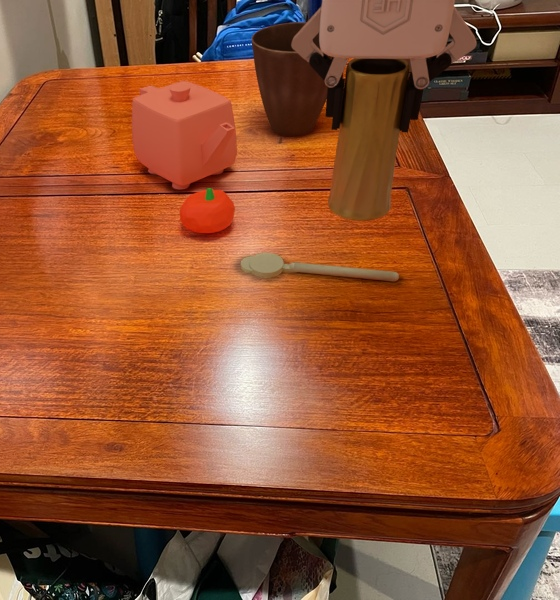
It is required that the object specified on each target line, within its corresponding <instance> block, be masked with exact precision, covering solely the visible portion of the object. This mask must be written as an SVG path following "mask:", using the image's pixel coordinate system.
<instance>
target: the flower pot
mask: <svg viewBox="0 0 560 600" xmlns="http://www.w3.org/2000/svg"><path fill="white" fill-rule="evenodd" d="M307 22H308V21H307ZM307 22H306V21H298V22H296V21H295V22H285V23H278V24H273V25H270V26H266V27H263V28H260V29H258V30H257V31H256V32H254V33H253V34H252V36H251V47H252V54H253V63H254V69H255V76H256V82H257V86H258V90H259V95H260V99H261V102H262V103H261V104H262V106H263V109H264V112H265V115H266V118H267V121H268V124H269V127H270V130H271V131H272V132H273V133H274V134H276V135H278V136H282V137H288V138H289V137H290V138H294V137H295V138H296V137H302V136H306V135H308V134H310V133H311V132H313V130H314V129H315V126H316V124H317V122H318V120H319V118H320V116H321V114H322V112H323V109H324V106H325V105H326V101H327V90H328V87H327V86H326V85H325V81H324V80H323V79H322V78H321V77H320V76H319V75H318V74H317V72H316V71H315V70H314V69H313V68H312V67H311V66H310V64H309V63H308V62H307V61H306V60H304V59H303V58H302V57H301V56H300V55H299V54H298V53H297V52H296V51H295V50H294V49H293V48H292V46H291V44H292V40H293V38H294V36H295V35H296V34H297V33H298V32H299V31H300V30H301V29H302V27H303V26H304V25H305V24H306V23H307ZM313 43H314V44H315V45H316V46H317V47H318V48H319V49H320V43H319V33H318V34H317V35H316V36H315V37H314V38H313ZM327 56H328V55H327ZM328 57H329V58H330V59H331V58H332V57H331V56H328Z"/></svg>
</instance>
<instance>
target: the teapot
mask: <svg viewBox="0 0 560 600" xmlns="http://www.w3.org/2000/svg"><path fill="white" fill-rule="evenodd" d="M138 92H139V95H137V96H135V97H133V98H132V103H131V104H132V107H131V110H132V111H131V138H132V139H131V140H132V148H133V151H134V156H135V157H136V159H137V161H138V162H139V163H141V164H142V165H143V166H145V168H147V169H148V170H147V172H148V173H149V174H151V175H158V176H159V177H161V178H163V179H165V180H167V181H168V182H171V184H172V185H171V187H172V188H173V189H174V190H185V189H188V188H189V187H190V186H191V184H192V183H195V182H197V181H199V180H202V179H204V178H206V177H210V176H211V175H213V176H217V175H220V174H222V173H224V169H225V170H226V169H227V168H229V167H231V166H233V165H234V164H235V163H236V159H237V155H238V142H237V130H236V121H235V116H234V110H233V105H232V101H231V99H229V98H227V97H226V96H224V95H222V94H221V93H218V92H217V91H214V90H211V89H209V88H207V87H205V86H202V85H199V84H196V83H195V82H190V81H187V80H180V81H177V82H174V83H171V84H167V85H165V86H161V87H160V88H159V87H157V86H154V85H151V84H150V85H146V86H143V87H141V88H139V91H138Z"/></svg>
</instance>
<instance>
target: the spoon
mask: <svg viewBox="0 0 560 600" xmlns="http://www.w3.org/2000/svg"><path fill="white" fill-rule="evenodd" d="M240 269H241V270H242V271H243V272H245V273H247V274H252V275H253V276H256V277H258V278H264V279H269V278H275V277H277V276H279V275H281V274H282V273H284V272H286V273H294V274H297V273H304V274H315V275H325V276H332V277H333V276H334V277H345V278H354V279H365V280H373V281H374V280H375V281H386V282H397V281H398V280H399V278H400V273H398V272H397V271H390V270H381V269H372V268H371V269H370V268H359V267H351V266H350V267H349V266H341V265H340V266H339V265H329V264H318V263H309V262H308V263H307V262H297V261H292V262H290V263H285V262H284V259H283V258H282V257H281V256H280V255H278V254H276V253H273V252H260V253H256V254H254V255H249V256H245V257H244V258H242V259H241V261H240Z"/></svg>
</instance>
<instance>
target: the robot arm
mask: <svg viewBox="0 0 560 600" xmlns="http://www.w3.org/2000/svg"><path fill="white" fill-rule="evenodd" d="M455 3H456V0H321V6H320V7H319V8H318V9H317V11H315V13H314V14H313V15H312V16H311V17H310V19H308V20H307V23H306V24H305V25H304V26H303V27H302V29H301V30H300V31H299V32H298V33H297V34H296V35H295V36H294V38H293V40H292V44H291V46H292V48H293V49H294V50H295V51H296V52H297V53H298V54H299V55H300V56H301V57H302V58H303V59H304V60H306V61H307V62H308V63H309V64H310V66H311V67H312V68H313V69H314V70H315V71H316V72H317V74H318V75H319V76H320V77H321V78H322V79H323V80H324V81H325V85H326V86H327V87H328V90H327V99H326V102H325V113H324V116H325V118H332V120H331V131H337V130H339V128H340V120H341V111H342V102H343V94H344V85H345V78H344V71H345V70H346V67H347V64H348V62H349V61H350V60H349V59H354V58H356V59H404V60H409V65H410V70H411V72H409V76H408V81H407V86H406V92H405V98H404V104H403V110H402V116H401V123H400V132H401V133H405V134H406V133H409V129H410V123H411V121H418V120H419V116H420V110H421V105H422V99H423V94H424V89H426V88H427V87H428V86H429V84H430V83H431V82H432V81H433V80H434V79H436V78H437V77H438V76H440V75H441V74H442V73H443V72H444V71H446V70H448V69H449V68H450V67H451V65H452V64H454V63H455V62H457V61H459V60H460V59H462V58H463V57H465V56H466V55H467V54H469V53H471V52H472V51H473V50H475V49H476V47H477V44H478V43H477V38H476V36H475V35H474V33H473V31H472V30H471V28H470V27H469V26H468V24H467V22H466V21H465V20H464V19H463V17H462V15H461V14H460V13H459V11H458V10H457V8H456V6H455ZM318 33H319V43H320V49H319V48H318V47H317V46H316V45H315V44H314V43H313V38H314V37H315V36H316V35H317V34H318ZM449 36H451V38H452V40H451V42H450V43H448V39H449ZM447 43H448V44H447ZM327 55H328V56H331V57H332V58H331V59H330V58H329V57H328V56H327Z"/></svg>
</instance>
